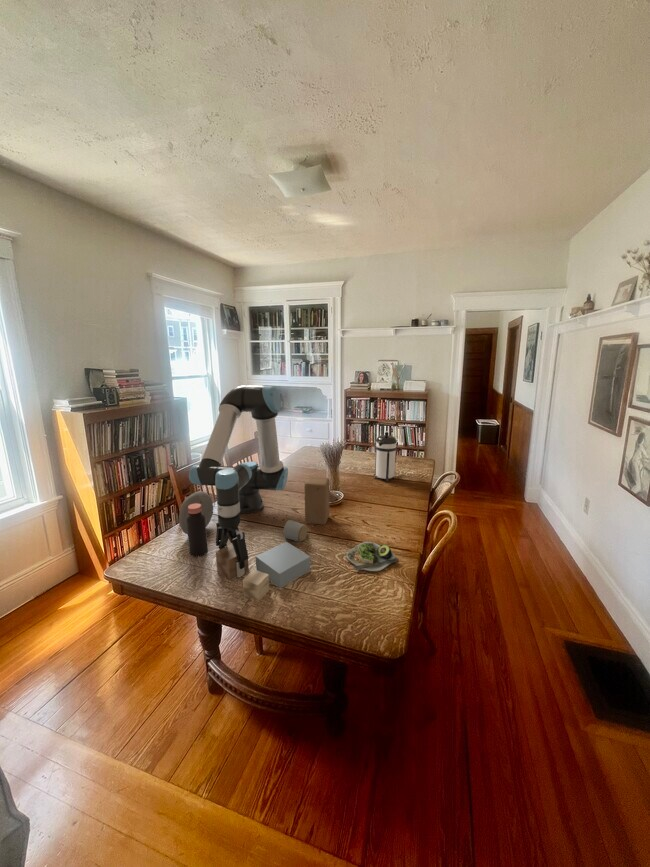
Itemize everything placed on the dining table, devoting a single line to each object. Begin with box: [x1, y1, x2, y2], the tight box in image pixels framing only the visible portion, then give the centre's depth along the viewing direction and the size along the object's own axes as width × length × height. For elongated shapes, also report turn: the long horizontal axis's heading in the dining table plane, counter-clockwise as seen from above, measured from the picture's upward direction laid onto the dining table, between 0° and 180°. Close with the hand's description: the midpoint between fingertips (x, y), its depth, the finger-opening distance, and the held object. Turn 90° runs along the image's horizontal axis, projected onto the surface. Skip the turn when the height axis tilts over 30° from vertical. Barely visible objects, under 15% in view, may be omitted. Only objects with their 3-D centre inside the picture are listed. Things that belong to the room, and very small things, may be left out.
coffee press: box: [372, 431, 398, 483], centre depth 213 cm, size 17×16×30 cm
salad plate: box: [346, 541, 400, 572], centre depth 130 cm, size 19×18×5 cm
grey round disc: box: [178, 490, 214, 536], centre depth 148 cm, size 18×7×19 cm, turn 156°
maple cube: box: [242, 569, 270, 602], centre depth 112 cm, size 6×6×6 cm
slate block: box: [255, 541, 311, 589], centre depth 124 cm, size 14×14×6 cm
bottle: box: [186, 503, 209, 558], centre depth 133 cm, size 7×7×20 cm
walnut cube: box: [215, 543, 250, 581], centre depth 124 cm, size 8×8×8 cm
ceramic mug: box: [282, 519, 308, 543], centre depth 146 cm, size 11×8×8 cm
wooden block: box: [304, 476, 330, 526], centre depth 160 cm, size 10×10×20 cm
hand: (232, 569), depth 124 cm, fingers open, 9 cm apart
